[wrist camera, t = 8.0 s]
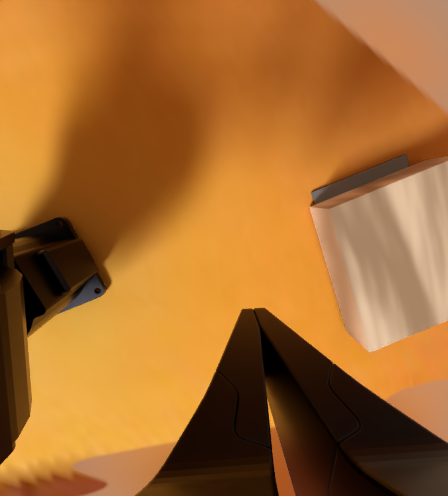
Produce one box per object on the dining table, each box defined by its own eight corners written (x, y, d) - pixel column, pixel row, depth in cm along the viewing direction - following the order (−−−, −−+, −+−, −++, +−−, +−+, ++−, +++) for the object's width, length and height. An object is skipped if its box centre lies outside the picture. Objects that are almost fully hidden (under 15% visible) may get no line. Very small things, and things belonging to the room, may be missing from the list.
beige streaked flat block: (369, 352, 19) (486, 304, 19) (329, 209, 16) (467, 152, 16) (346, 331, 21) (447, 289, 22) (309, 207, 19) (425, 159, 19)
